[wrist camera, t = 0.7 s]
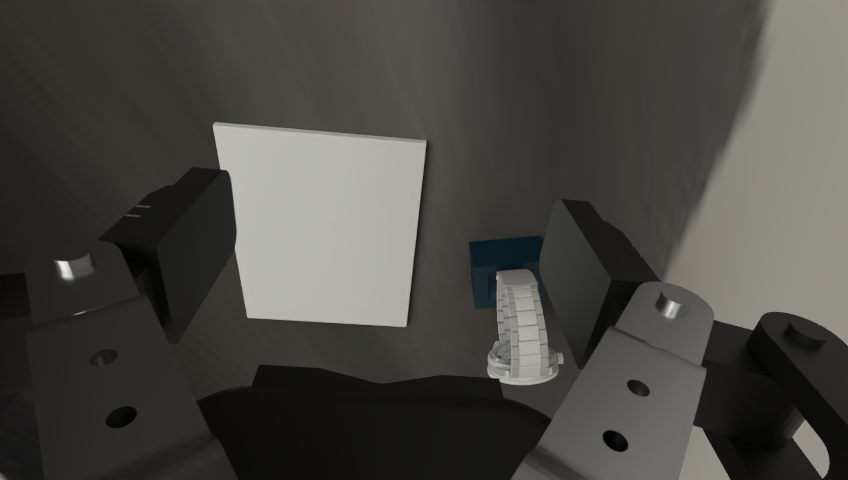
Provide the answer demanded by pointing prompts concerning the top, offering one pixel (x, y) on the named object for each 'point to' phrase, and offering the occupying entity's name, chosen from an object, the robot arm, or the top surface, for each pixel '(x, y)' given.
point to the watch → (514, 308)
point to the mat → (323, 222)
